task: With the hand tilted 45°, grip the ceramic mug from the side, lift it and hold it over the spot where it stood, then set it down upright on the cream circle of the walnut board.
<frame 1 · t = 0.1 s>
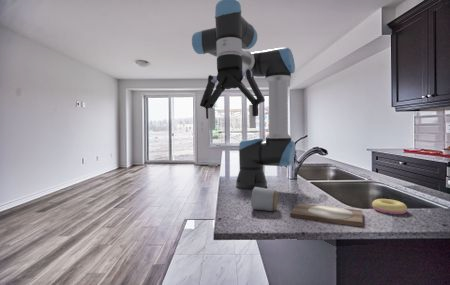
hand: (231, 129, 76), 28 cm above the worktop, tool pointing down, fingers open, 13 cm apart
walnut board: (326, 215, 81), on the worktop
donut: (389, 211, 85), on the worktop
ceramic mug: (264, 209, 89), on the worktop
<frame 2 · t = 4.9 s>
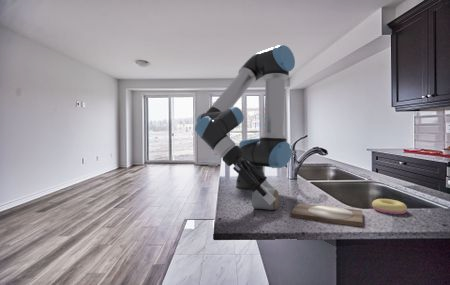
hand: (274, 198, 88), 4 cm above the worktop, tool tilted 45°, fingers closed on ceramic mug, 8 cm apart
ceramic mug: (265, 208, 90), on the worktop, touching gripper
everything else where it was.
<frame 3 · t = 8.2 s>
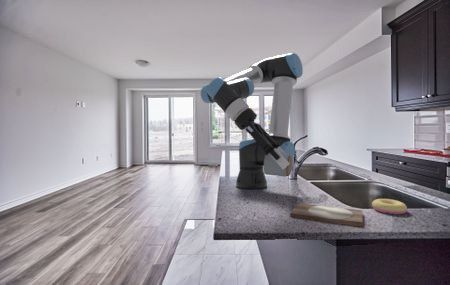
hand: (288, 164, 83), 16 cm above the worktop, tool tilted 45°, fingers closed on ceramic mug, 8 cm apart
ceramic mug: (277, 175, 85), point 12 cm above the worktop, touching gripper
everything else where it was.
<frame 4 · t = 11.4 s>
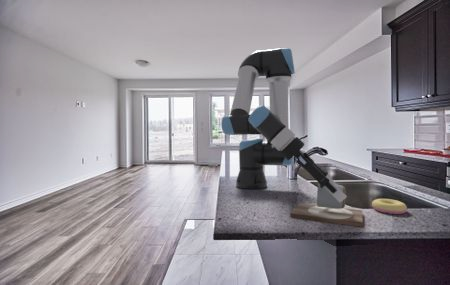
hand: (341, 195, 79), 7 cm above the worktop, tool tilted 45°, fingers closed on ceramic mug, 8 cm apart
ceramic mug: (329, 206, 81), point 3 cm above the worktop, touching gripper
everything else where it was.
when the fingers open (7 cm above the worktop, at t = 11.4 s): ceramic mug drops 1 cm, resting on walnut board.
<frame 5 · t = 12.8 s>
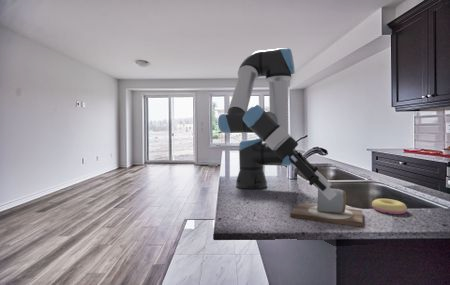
hand: (330, 191, 80), 8 cm above the worktop, tool tilted 45°, fingers open, 13 cm apart
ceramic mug: (329, 211, 81), point 1 cm above the worktop, touching walnut board
everything else where it was.
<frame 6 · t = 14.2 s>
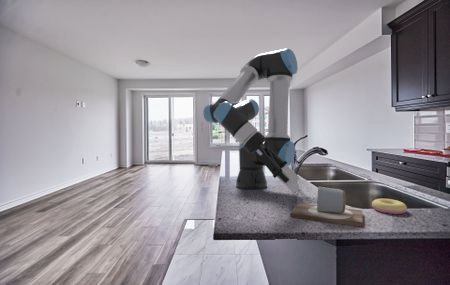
hand: (296, 184, 83), 9 cm above the worktop, tool tilted 45°, fingers open, 13 cm apart
nothing on the worktop moved.
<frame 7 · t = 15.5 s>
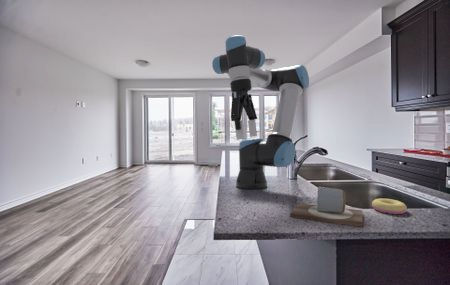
hand: (247, 137, 94), 25 cm above the worktop, tool pointing down, fingers open, 13 cm apart
nothing on the worktop moved.
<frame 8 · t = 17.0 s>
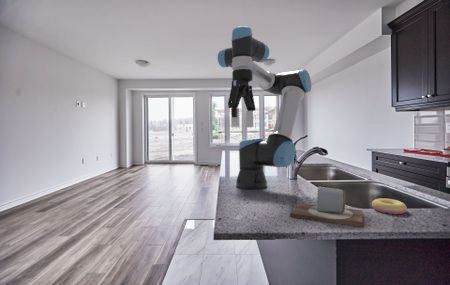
hand: (243, 127, 97), 29 cm above the worktop, tool pointing down, fingers open, 13 cm apart
nothing on the worktop moved.
at the end: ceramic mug 1.4 cm from the target spot on the walnut board, point 1.1 cm above the walnut board's base; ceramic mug tilted 0°; the gripper is holding nothing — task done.
